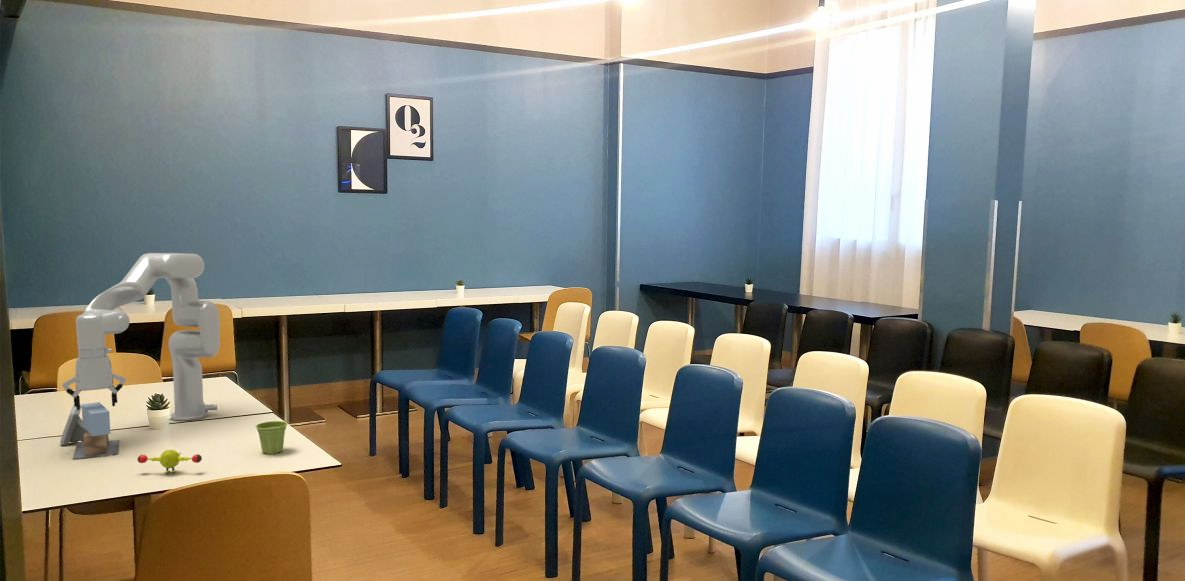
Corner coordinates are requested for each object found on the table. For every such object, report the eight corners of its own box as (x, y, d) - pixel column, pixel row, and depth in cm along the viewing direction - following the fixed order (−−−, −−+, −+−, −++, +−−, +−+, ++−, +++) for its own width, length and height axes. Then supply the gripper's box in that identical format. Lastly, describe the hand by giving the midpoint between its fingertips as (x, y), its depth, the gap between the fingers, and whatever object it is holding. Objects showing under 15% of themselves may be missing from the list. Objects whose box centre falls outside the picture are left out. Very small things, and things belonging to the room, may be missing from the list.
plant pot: (254, 457, 271) (254, 429, 270) (257, 448, 280) (257, 421, 279) (287, 454, 274) (286, 427, 273) (289, 446, 283) (288, 420, 282)
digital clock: (65, 434, 296) (63, 403, 295) (95, 432, 299) (93, 401, 298) (49, 447, 281) (47, 414, 280) (81, 445, 283) (79, 413, 282)
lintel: (100, 423, 285) (99, 402, 285) (110, 433, 273) (109, 411, 272) (82, 425, 282) (81, 404, 282) (92, 436, 270) (90, 413, 269)
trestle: (119, 440, 289) (118, 421, 288) (117, 454, 273) (116, 434, 272) (76, 445, 283) (75, 425, 283) (72, 459, 267) (71, 439, 267)
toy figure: (206, 469, 258) (205, 447, 258) (198, 475, 253) (197, 452, 252) (143, 470, 258) (142, 447, 257) (134, 476, 252) (133, 452, 251)
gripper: (123, 348, 282) (127, 401, 285) (60, 353, 275) (65, 407, 277) (123, 353, 276) (127, 406, 278) (59, 358, 268) (63, 413, 270)
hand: (96, 407), depth 277 cm, fingers open, 9 cm apart
